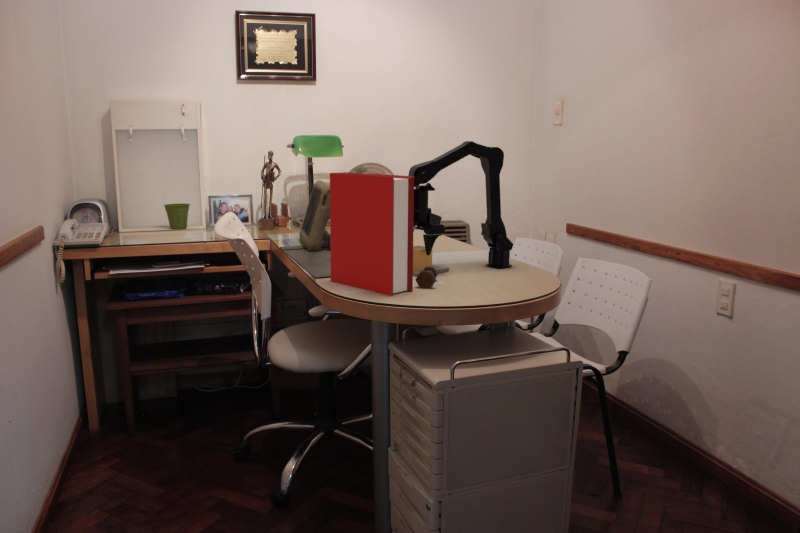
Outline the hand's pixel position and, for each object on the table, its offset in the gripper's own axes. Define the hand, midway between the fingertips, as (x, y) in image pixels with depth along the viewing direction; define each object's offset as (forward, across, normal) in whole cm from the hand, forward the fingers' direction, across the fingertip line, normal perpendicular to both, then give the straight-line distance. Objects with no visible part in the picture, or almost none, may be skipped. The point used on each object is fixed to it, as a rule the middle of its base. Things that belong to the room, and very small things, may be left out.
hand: (418, 253), depth 209 cm
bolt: (+6, -16, +10) cm, 20 cm away
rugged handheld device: (+6, +64, -4) cm, 64 cm away
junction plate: (+6, 0, 0) cm, 6 cm away
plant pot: (+6, +143, +20) cm, 144 cm away
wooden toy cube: (+5, 0, 0) cm, 5 cm away
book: (+6, -7, +26) cm, 28 cm away
